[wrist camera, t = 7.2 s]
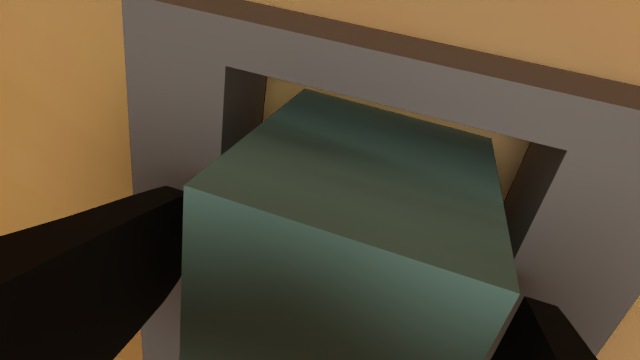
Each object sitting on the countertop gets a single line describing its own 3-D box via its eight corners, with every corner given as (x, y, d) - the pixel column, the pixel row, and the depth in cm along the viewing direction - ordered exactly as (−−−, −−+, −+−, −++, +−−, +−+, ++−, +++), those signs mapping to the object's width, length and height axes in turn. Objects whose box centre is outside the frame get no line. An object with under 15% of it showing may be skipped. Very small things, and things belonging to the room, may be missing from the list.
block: (431, 284, 13) (413, 486, 8) (281, 234, 14) (178, 389, 9) (491, 138, 11) (520, 293, 6) (305, 88, 12) (183, 185, 6)
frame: (453, 483, 17) (452, 572, 14) (182, 377, 19) (140, 439, 17) (684, 96, 9) (767, 144, 7) (185, -13, 11) (107, -7, 9)
